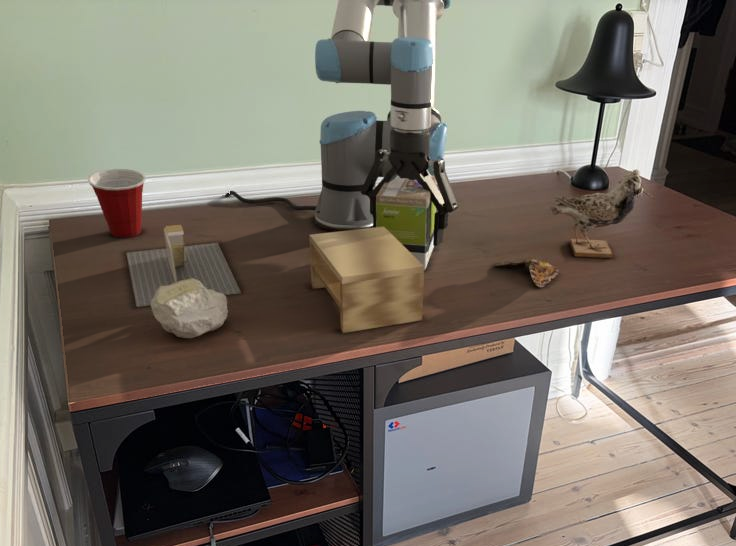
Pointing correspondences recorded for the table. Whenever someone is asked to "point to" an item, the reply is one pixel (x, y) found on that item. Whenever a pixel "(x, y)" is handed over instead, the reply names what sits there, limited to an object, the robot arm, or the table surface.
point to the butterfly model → (539, 271)
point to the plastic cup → (120, 199)
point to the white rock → (189, 308)
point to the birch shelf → (368, 277)
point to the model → (178, 267)
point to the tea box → (408, 215)
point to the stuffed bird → (600, 213)
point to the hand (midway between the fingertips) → (407, 237)
